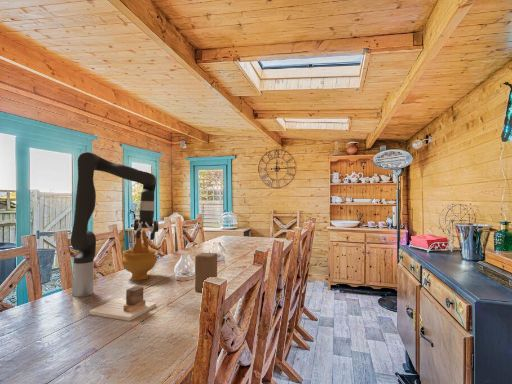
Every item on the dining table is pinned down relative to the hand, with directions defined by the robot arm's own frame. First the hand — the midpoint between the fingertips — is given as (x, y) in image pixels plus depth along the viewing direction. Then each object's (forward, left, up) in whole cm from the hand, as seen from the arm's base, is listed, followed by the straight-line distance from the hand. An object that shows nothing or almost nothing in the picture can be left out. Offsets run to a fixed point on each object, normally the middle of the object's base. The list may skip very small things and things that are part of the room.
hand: (145, 239), depth 167 cm
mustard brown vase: (-22, +23, -29) cm, 43 cm away
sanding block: (+14, -25, -27) cm, 39 cm away
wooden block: (+30, +14, -29) cm, 44 cm away
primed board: (+8, -25, -29) cm, 39 cm away
